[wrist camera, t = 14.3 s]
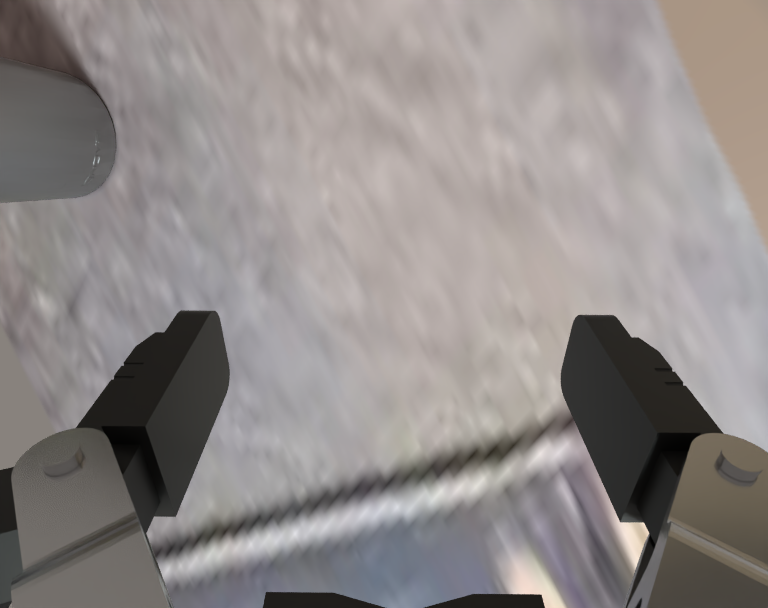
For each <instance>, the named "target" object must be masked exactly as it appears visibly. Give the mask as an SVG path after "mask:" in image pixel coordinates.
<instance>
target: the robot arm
mask: <svg viewBox="0 0 768 608" xmlns="http://www.w3.org/2000/svg"><path fill="white" fill-rule="evenodd" d="M115 153H116V138H115V132H114V128H113V123H112V121H111V118H110V116H109V113H108V111H107V109H106V107H105V106H104V104H103V103H102V101H101V99H100V98H99V97H98V96H97V94H96V93H95V92H94V91H93V90H92V89H91V88H90V87H89V86H88V85H86V84H85V83H84V82H82V81H81V80H80V79H78V78H76V77H74V76H71V75H69V74H67V73H63V72H59V71H55V70H51V69H47V68H43V67H39V66H35V65H31V64H27V63H23V62H20V61H16V60H12V59H8V58H4V57H0V203H9V202H23V201H38V200H52V199H65V198H76V197H81V196H85V195H87V194H89V193H91V192H93V191H95V190H96V189H97V188H98V187H100V186H101V185H102V184H103V183H104V181H105V180H106V178H107V177H108V175H109V174H110V171H111V169H112V166H113V164H114V159H115ZM229 376H230V372H229V363H228V358H227V353H226V348H225V343H224V338H223V333H222V327H221V322H220V318H219V315H218V313H217V312H216V311H180V312H178V313H177V315H176V316H175V318H174V319H173V321H172V322H171V324H170V325H169V327H168V328H167V330H166V331H165V333H161V332H156V333H154V334H153V335H151V336H150V337H148V338H147V339H146V340H144V341H143V342H141V343H140V344H139V345H137V346H136V347H135V348H134V350H133V351H132V352H131V354H130V355H129V356H128V358H127V359H126V360H125V362H124V366H121V367H120V369H119V370H118V371H117V373H116V374H115V375H114V380H111V381H110V382H109V384H108V385H107V386H106V388H105V389H104V390H103V392H102V393H101V394H100V396H99V397H98V399H97V400H96V401H95V403H94V404H93V405H92V407H91V408H90V409H89V411H88V412H87V414H86V415H85V416H84V418H83V419H82V420H81V422H80V423H79V424H78V426H77V427H76V428H75V429H69V430H65V431H62V432H59V433H56V434H54V435H51V436H49V437H47V438H45V439H43V440H42V441H40V442H38V443H37V444H35V445H34V446H32V447H31V448H30V449H29V450H28V451H26V452H25V453H24V455H23V456H22V457H21V458H20V459H19V460H18V462H17V463H16V465H15V467H12V468H8V469H3V470H0V608H9V606H10V604H11V602H12V608H174V606H173V604H172V601H171V598H170V596H169V593H168V590H167V588H166V585H165V582H164V579H163V577H162V574H161V571H160V569H159V566H158V563H157V561H156V558H155V555H154V553H153V550H152V547H151V544H150V542H149V539H148V537H147V534H146V532H147V530H148V528H149V526H150V524H151V521H152V519H153V517H154V516H166V517H176V515H177V512H178V510H179V508H180V505H181V503H182V500H183V498H184V495H185V493H186V491H187V488H188V486H189V483H190V481H191V478H192V476H193V474H194V471H195V469H196V466H197V464H198V461H199V459H200V457H201V454H202V452H203V449H204V447H205V444H206V442H207V440H208V437H209V435H210V432H211V430H212V427H213V425H214V423H215V420H216V418H217V415H218V413H219V410H220V408H221V406H222V403H223V401H224V398H225V396H226V393H227V390H228V386H229ZM561 388H562V393H563V396H564V399H565V401H566V403H567V405H568V407H569V410H570V412H571V414H572V416H573V419H574V421H575V423H576V425H577V427H578V430H579V432H580V434H581V436H582V438H583V441H584V443H585V445H586V447H587V450H588V452H589V454H590V456H591V458H592V461H593V463H594V465H595V467H596V469H597V472H598V474H599V476H600V478H601V480H602V483H603V485H604V487H605V489H606V492H607V494H608V496H609V498H610V500H611V503H612V505H613V507H614V509H615V511H616V514H617V516H618V518H619V520H620V522H644V523H645V525H646V527H647V529H648V531H649V535H648V537H647V539H646V541H645V544H644V547H643V550H642V553H641V556H640V558H639V561H638V564H637V567H636V570H635V573H634V576H633V579H632V582H631V585H630V588H629V591H628V594H627V597H626V600H625V603H624V606H623V608H768V453H767V452H766V451H764V450H763V449H761V448H760V447H758V446H756V445H754V444H753V443H751V442H748V441H746V440H744V439H741V438H738V437H735V436H731V435H727V434H723V432H722V431H721V430H720V429H719V427H718V426H717V425H716V424H715V422H714V421H713V420H712V418H711V417H710V416H709V415H708V413H707V412H706V411H705V410H704V408H703V407H702V406H701V404H700V403H699V402H698V401H697V399H696V398H695V397H694V396H693V394H692V393H691V392H690V390H689V389H688V388H687V387H686V386H683V382H682V380H681V379H680V378H679V376H678V375H677V374H676V373H675V372H672V368H671V366H670V365H669V364H668V362H667V361H666V360H665V359H664V357H663V356H662V355H661V354H660V352H659V351H657V350H656V349H654V348H653V347H651V346H650V345H649V344H647V343H646V342H644V341H643V340H641V339H640V338H631V336H630V335H629V333H628V332H627V331H626V329H625V328H624V327H623V325H622V324H621V323H620V321H619V320H618V319H617V317H615V316H614V315H578V316H577V317H576V318H575V320H574V322H573V325H572V329H571V333H570V337H569V341H568V345H567V349H566V353H565V357H564V361H563V366H562V370H561ZM263 608H385V607H381V606H378V605H374V604H371V603H367V602H364V601H360V600H357V599H353V598H350V597H347V596H343V595H340V594H336V593H300V592H266V595H265V600H264V605H263ZM425 608H545V606H544V603H543V599H542V595H534V594H472V595H468V596H465V597H461V598H457V599H454V600H450V601H447V602H443V603H439V604H436V605H432V606H429V607H425Z"/></svg>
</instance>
